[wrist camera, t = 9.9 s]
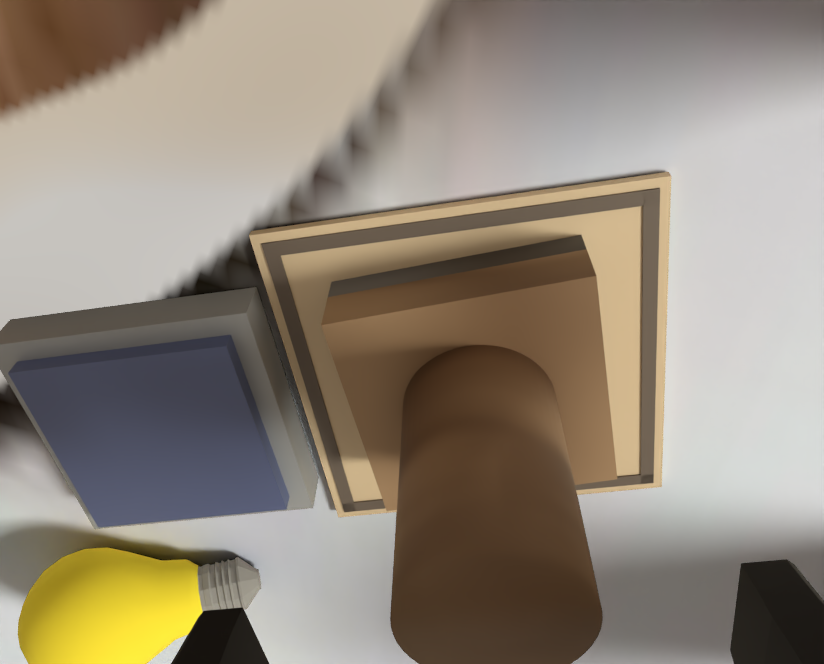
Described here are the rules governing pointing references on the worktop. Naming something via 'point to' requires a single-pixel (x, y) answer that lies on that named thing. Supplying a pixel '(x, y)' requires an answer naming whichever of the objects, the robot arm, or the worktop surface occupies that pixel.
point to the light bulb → (124, 605)
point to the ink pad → (163, 408)
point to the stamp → (483, 445)
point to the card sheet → (469, 235)
